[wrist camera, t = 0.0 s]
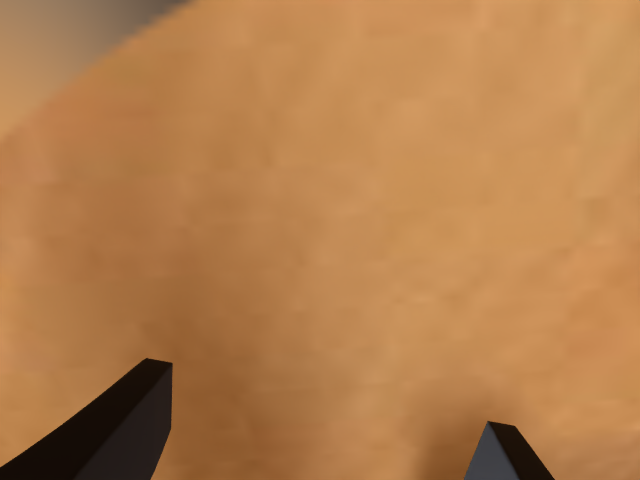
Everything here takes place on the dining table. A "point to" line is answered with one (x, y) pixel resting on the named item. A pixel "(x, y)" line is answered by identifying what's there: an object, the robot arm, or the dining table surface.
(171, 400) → the robot arm
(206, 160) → the dining table surface
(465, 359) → the dining table surface
